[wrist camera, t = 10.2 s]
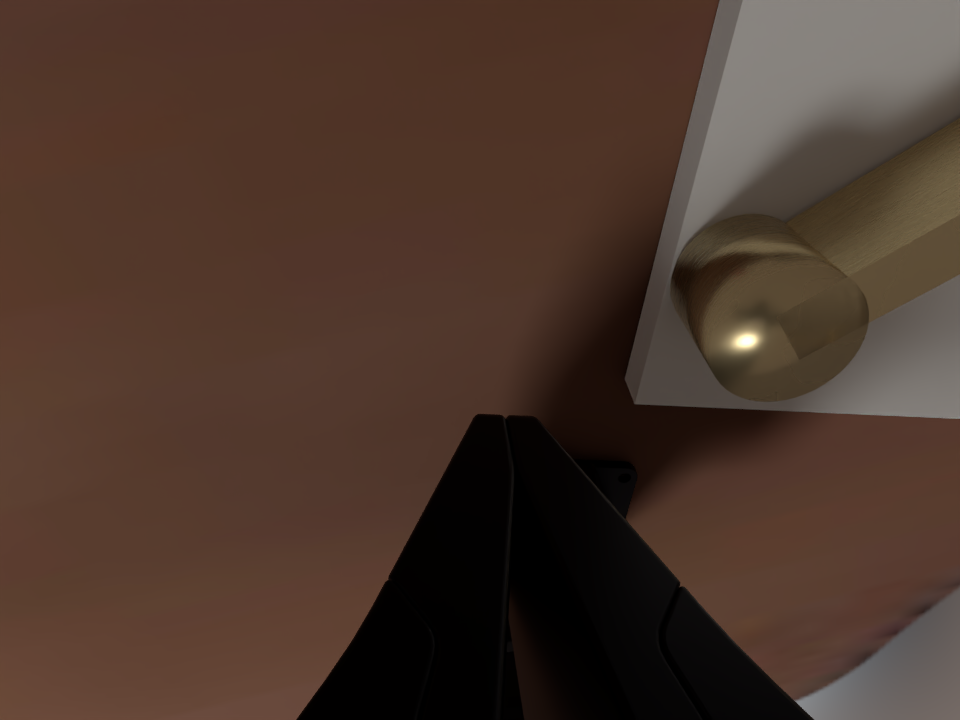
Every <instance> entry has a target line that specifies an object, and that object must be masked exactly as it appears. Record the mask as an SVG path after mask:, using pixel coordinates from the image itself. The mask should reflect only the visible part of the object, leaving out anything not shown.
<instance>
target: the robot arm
mask: <svg viewBox="0 0 960 720" xmlns="http://www.w3.org/2000/svg"><path fill="white" fill-rule="evenodd" d="M624 473H627V474H626V475H624V476H620V475H621V474H624ZM636 481H637V473H636V470H635V467H634V466H633V464H631V463H630V462H624V461H597V460H573V459H572V458H571V457H570V456H569V454H568V453H567V452H566V451H565V450H564V449H563V448H562V446H561V445H560V444H559V443H558V442H557V441H556V440H555V438H554V437H553V436H552V435H551V434H550V433H549V432H548V430H547V429H546V428H545V427H544V426H543V425H542V424H541V422H540V421H539V420H538V419H537V418H535V417H533V416H517V415H509V416H508V417H507V418H506V419H505V418H504V417H503V416H502V415H493V414H477V415H476V416H475V417H474V418H473V420H472V422H471V424H470V425H469V427H468V429H467V431H466V433H465V435H464V437H463V439H462V440H461V442H460V444H459V446H458V448H457V450H456V452H455V454H454V455H453V457H452V459H451V461H450V463H449V465H448V467H447V468H446V470H445V472H444V474H443V476H442V478H441V480H440V482H439V483H438V485H437V487H436V489H435V491H434V493H433V495H432V496H431V498H430V500H429V502H428V504H427V506H426V508H425V510H424V511H423V513H422V515H421V517H420V519H419V521H418V523H417V524H416V526H415V528H414V530H413V532H412V534H411V536H410V538H409V539H408V541H407V543H406V545H405V547H404V549H403V551H402V552H401V554H400V556H399V558H398V560H397V562H396V564H395V566H394V567H393V569H392V571H391V573H390V575H389V578H388V580H387V581H386V582H385V584H384V585H383V587H382V589H381V591H380V593H379V595H378V597H377V598H376V600H375V602H374V604H373V606H372V607H371V609H370V611H369V613H368V614H367V616H366V618H365V619H364V621H363V623H362V625H361V626H360V628H359V630H358V631H357V633H356V635H355V636H354V638H353V640H352V641H351V643H350V644H349V646H348V647H347V649H346V650H345V652H344V653H343V655H342V656H341V658H340V659H339V661H338V662H337V663H336V665H335V666H334V668H333V669H332V671H331V672H330V674H329V675H328V677H327V678H326V680H325V681H324V682H323V684H322V685H321V687H320V688H319V689H318V691H317V692H316V693H315V695H314V696H313V697H312V699H311V700H310V702H309V703H308V704H307V706H306V707H305V708H304V710H303V711H302V713H301V714H300V715H299V717H298V718H297V719H296V720H814V719H813V718H812V717H811V716H810V715H808V714H807V712H805V711H804V710H803V709H802V708H801V707H800V706H799V705H798V704H797V703H796V702H795V701H794V700H793V699H792V698H791V697H790V696H789V695H788V694H787V693H786V692H784V691H783V690H782V689H781V688H780V687H779V686H778V685H777V684H776V683H775V682H774V681H773V680H772V679H771V678H770V677H769V676H768V675H767V674H766V673H765V672H764V671H763V670H762V669H761V668H760V667H759V666H758V665H757V664H756V663H755V662H754V661H753V660H752V659H751V658H750V657H749V656H748V655H747V654H746V653H745V652H744V651H743V650H742V649H741V648H740V647H739V646H738V645H737V644H736V643H735V642H734V641H733V640H732V639H731V638H730V637H729V636H728V635H727V633H726V632H725V631H724V630H723V629H722V628H721V627H720V626H719V625H718V624H717V623H716V621H715V620H714V619H713V618H712V617H711V616H710V615H709V614H708V613H707V612H706V611H705V610H704V608H703V607H702V606H701V605H700V604H699V603H698V602H697V600H696V599H695V598H694V597H693V596H692V595H691V594H690V592H689V591H688V590H687V589H686V588H685V587H683V586H682V587H680V581H679V580H678V579H677V578H676V577H675V576H674V574H673V573H672V572H671V571H670V570H669V569H668V568H667V566H666V565H665V564H664V563H663V562H662V561H661V560H660V558H659V557H658V556H657V555H656V554H655V553H654V552H653V550H652V549H651V548H650V547H649V546H648V545H647V544H646V542H645V541H644V540H643V539H642V538H641V537H640V536H639V534H638V533H637V532H636V531H635V530H634V529H633V528H632V526H631V525H630V524H629V523H628V522H627V521H626V520H625V518H626V515H627V511H628V508H629V505H630V501H631V498H632V494H633V491H634V488H635V484H636ZM679 587H680V588H679Z"/></svg>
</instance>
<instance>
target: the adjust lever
mask: <svg viewBox="0 0 960 720" xmlns="http://www.w3.org/2000/svg"><path fill="white" fill-rule="evenodd" d="M958 275H960V118H959V119H957V120H955V121H954V122H952V123H950V124H949V125H947V126H945V127H944V128H942V129H940V130H939V131H937V132H935V133H934V134H932V135H930V136H929V137H927V138H925V139H924V140H922V141H920V142H919V143H917V144H915V145H914V146H912V147H910V148H909V149H907V150H905V151H904V152H902V153H900V154H899V155H897V156H895V157H894V158H892V159H890V160H889V161H887V162H885V163H884V164H882V165H880V166H879V167H877V168H875V169H874V170H872V171H870V172H869V173H867V174H865V175H864V176H862V177H860V178H859V179H857V180H855V181H854V182H852V183H851V184H849V185H847V186H846V187H844V188H842V189H841V190H839V191H837V192H836V193H834V194H832V195H831V196H829V197H827V198H826V199H824V200H822V201H821V202H819V203H817V204H816V205H814V206H812V207H811V208H809V209H807V210H806V211H804V212H802V213H801V214H799V215H797V216H796V217H794V218H792V219H791V220H789V221H787V222H786V223H785V222H784V221H782V220H780V219H778V218H775V217H772V216H768V215H764V214H743V215H738V216H734V217H730V218H727V219H724V220H722V221H720V222H717V223H715V224H714V225H712V226H710V227H708V228H707V229H705V230H704V231H703V232H701V233H700V234H699V235H698V236H696V237H695V238H694V239H693V240H692V241H691V242H690V243H689V244H688V246H687V247H686V248H685V249H684V251H683V252H682V253H681V255H680V257H679V259H678V260H677V262H676V265H675V267H674V270H673V273H672V277H671V283H670V294H671V300H672V303H673V306H674V308H675V310H676V312H677V314H678V316H679V317H680V319H681V321H682V322H683V324H684V326H685V327H686V329H687V331H688V332H689V334H690V336H691V337H692V339H693V341H694V342H695V344H696V346H697V347H698V349H699V351H700V352H701V354H702V356H703V358H704V359H705V361H706V363H707V364H708V366H709V368H710V369H711V371H712V373H713V374H714V376H715V378H716V379H717V380H718V382H719V383H720V384H721V385H722V386H723V387H724V388H725V389H726V390H728V391H729V392H731V393H732V394H734V395H736V396H738V397H741V398H744V399H747V400H752V401H759V402H775V401H782V400H788V399H792V398H796V397H798V396H801V395H804V394H807V393H809V392H811V391H813V390H815V389H817V388H819V387H821V386H822V385H824V384H826V383H827V382H828V381H830V380H831V379H833V378H834V377H835V376H836V375H838V374H839V373H840V372H841V371H842V370H843V369H844V368H845V367H846V366H847V365H848V364H849V363H850V362H851V360H852V359H853V358H854V357H855V355H856V354H857V352H858V350H859V349H860V347H861V345H862V343H863V341H864V339H865V336H866V333H867V329H868V324H869V323H870V322H871V321H873V320H875V319H877V318H879V317H881V316H883V315H885V314H886V313H888V312H890V311H892V310H894V309H896V308H898V307H900V306H902V305H903V304H905V303H907V302H909V301H911V300H913V299H915V298H917V297H918V296H920V295H922V294H924V293H926V292H928V291H930V290H932V289H934V288H935V287H937V286H939V285H941V284H943V283H945V282H947V281H949V280H950V279H952V278H954V277H956V276H958Z"/></svg>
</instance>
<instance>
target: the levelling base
mask: <svg viewBox="0 0 960 720" xmlns="http://www.w3.org/2000/svg"><path fill="white" fill-rule="evenodd" d="M959 118H960V0H720V1H719V5H718V9H717V13H716V17H715V21H714V25H713V29H712V33H711V37H710V41H709V45H708V49H707V53H706V57H705V61H704V65H703V69H702V73H701V77H700V81H699V85H698V89H697V93H696V97H695V101H694V105H693V109H692V113H691V117H690V121H689V125H688V129H687V133H686V137H685V141H684V145H683V149H682V153H681V157H680V161H679V164H678V168H677V172H676V176H675V180H674V184H673V188H672V192H671V196H670V200H669V204H668V208H667V212H666V216H665V220H664V224H663V228H662V232H661V236H660V240H659V244H658V248H657V252H656V256H655V260H654V264H653V268H652V272H651V276H650V280H649V284H648V288H647V292H646V296H645V300H644V304H643V308H642V312H641V316H640V320H639V324H638V328H637V332H636V336H635V340H634V344H633V348H632V352H631V356H630V360H629V364H628V368H627V372H626V376H625V381H626V384H627V386H628V389H629V391H630V394H631V396H632V399H633V401H634V404H641V405H664V406H686V407H708V408H730V409H753V410H775V411H797V412H819V413H842V414H864V415H886V416H908V417H931V418H953V419H960V275H958V276H956V277H954V278H952V279H950V280H949V281H947V282H945V283H943V284H941V285H939V286H937V287H935V288H934V289H932V290H930V291H928V292H926V293H924V294H922V295H920V296H918V297H917V298H915V299H913V300H911V301H909V302H907V303H905V304H903V305H902V306H900V307H898V308H896V309H894V310H892V311H890V312H888V313H886V314H885V315H883V316H881V317H879V318H877V319H875V320H873V321H871V322H870V323H869V324H868V329H867V333H866V336H865V339H864V341H863V343H862V345H861V347H860V349H859V350H858V352H857V354H856V355H855V357H854V358H853V359H852V360H851V362H850V363H849V364H848V365H847V366H846V367H845V368H844V369H843V370H842V371H841V372H840V373H839V374H838V375H836V376H835V377H834V378H833V379H831V380H830V381H828V382H827V383H826V384H824V385H822V386H821V387H819V388H817V389H815V390H813V391H811V392H809V393H807V394H804V395H801V396H798V397H796V398H792V399H788V400H782V401H775V402H759V401H752V400H747V399H744V398H741V397H738V396H736V395H734V394H732V393H731V392H729V391H728V390H726V389H725V388H724V387H723V386H722V385H721V384H720V383H719V382H718V380H717V379H716V378H715V376H714V374H713V373H712V371H711V369H710V368H709V366H708V364H707V363H706V361H705V359H704V358H703V356H702V354H701V352H700V351H699V349H698V347H697V346H696V344H695V342H694V341H693V339H692V337H691V336H690V334H689V332H688V331H687V329H686V327H685V326H684V324H683V322H682V321H681V319H680V317H679V316H678V314H677V312H676V310H675V308H674V306H673V303H672V300H671V294H670V283H671V277H672V273H673V270H674V267H675V265H676V262H677V260H678V259H679V257H680V255H681V253H682V252H683V251H684V249H685V248H686V247H687V246H688V244H689V243H690V242H691V241H692V240H693V239H694V238H695V237H696V236H698V235H699V234H700V233H701V232H703V231H704V230H705V229H707V228H708V227H710V226H712V225H714V224H715V223H717V222H720V221H722V220H724V219H727V218H730V217H734V216H738V215H743V214H764V215H768V216H772V217H775V218H778V219H780V220H782V221H784V222H785V223H786V222H787V221H789V220H791V219H792V218H794V217H796V216H797V215H799V214H801V213H802V212H804V211H806V210H807V209H809V208H811V207H812V206H814V205H816V204H817V203H819V202H821V201H822V200H824V199H826V198H827V197H829V196H831V195H832V194H834V193H836V192H837V191H839V190H841V189H842V188H844V187H846V186H847V185H849V184H851V183H852V182H854V181H855V180H857V179H859V178H860V177H862V176H864V175H865V174H867V173H869V172H870V171H872V170H874V169H875V168H877V167H879V166H880V165H882V164H884V163H885V162H887V161H889V160H890V159H892V158H894V157H895V156H897V155H899V154H900V153H902V152H904V151H905V150H907V149H909V148H910V147H912V146H914V145H915V144H917V143H919V142H920V141H922V140H924V139H925V138H927V137H929V136H930V135H932V134H934V133H935V132H937V131H939V130H940V129H942V128H944V127H945V126H947V125H949V124H950V123H952V122H954V121H955V120H957V119H959Z"/></svg>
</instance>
